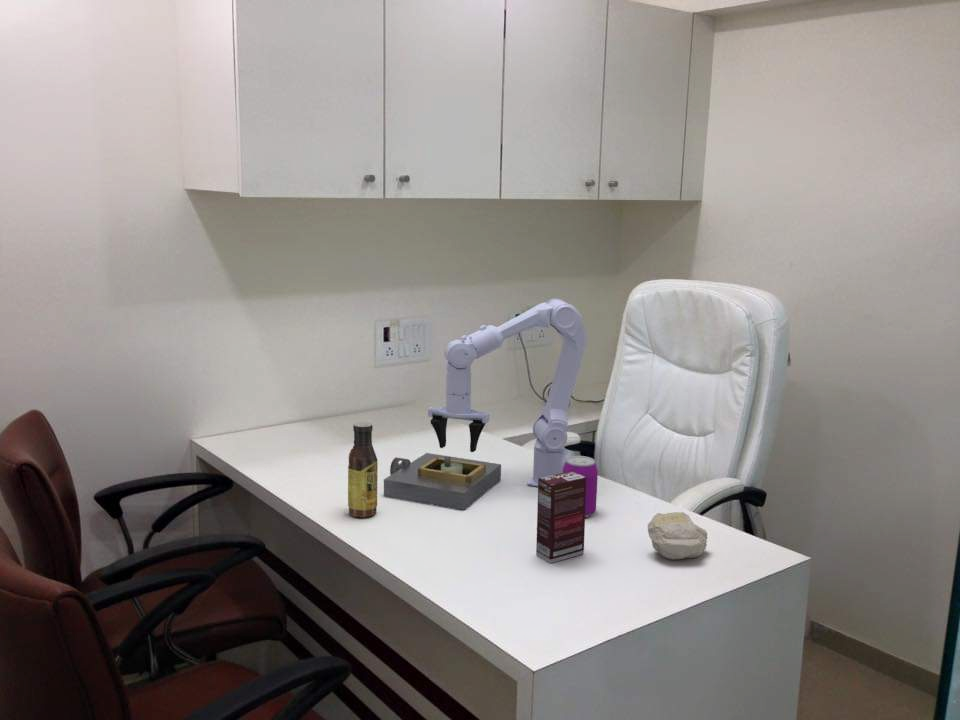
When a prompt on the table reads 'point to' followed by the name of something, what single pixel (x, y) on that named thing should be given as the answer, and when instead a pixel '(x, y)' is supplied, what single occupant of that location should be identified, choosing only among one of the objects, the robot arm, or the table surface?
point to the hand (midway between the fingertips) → (457, 449)
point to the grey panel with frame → (440, 481)
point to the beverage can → (590, 471)
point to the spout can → (451, 466)
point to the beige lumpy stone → (676, 536)
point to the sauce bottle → (362, 473)
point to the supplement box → (561, 516)
